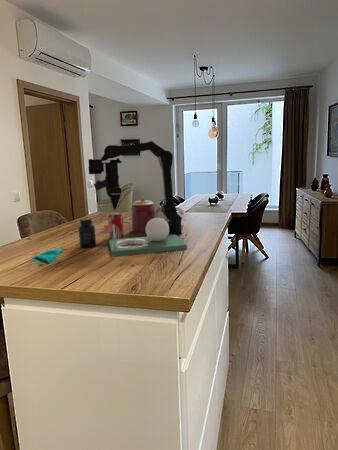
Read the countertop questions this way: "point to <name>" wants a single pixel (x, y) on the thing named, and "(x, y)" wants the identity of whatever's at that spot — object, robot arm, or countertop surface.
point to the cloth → (47, 256)
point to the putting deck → (143, 244)
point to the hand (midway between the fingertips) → (114, 207)
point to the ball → (157, 229)
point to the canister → (142, 214)
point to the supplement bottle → (87, 234)
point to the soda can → (116, 225)
